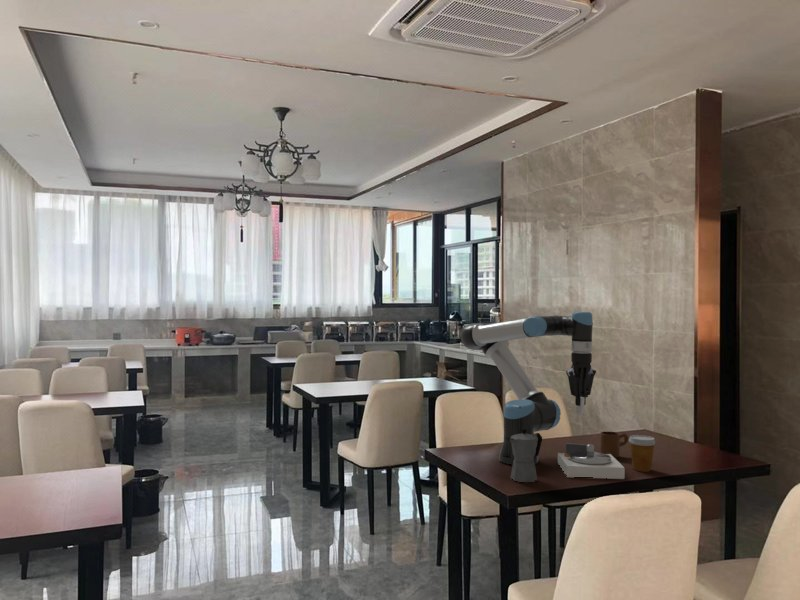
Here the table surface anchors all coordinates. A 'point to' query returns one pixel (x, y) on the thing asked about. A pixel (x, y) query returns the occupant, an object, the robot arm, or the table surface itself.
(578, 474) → the dial housing
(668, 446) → the table surface
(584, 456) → the dial
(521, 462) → the coffeepot
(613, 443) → the mug
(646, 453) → the disposable coffee cup
